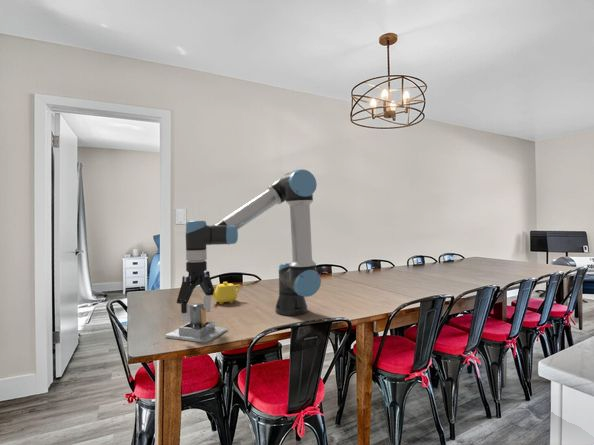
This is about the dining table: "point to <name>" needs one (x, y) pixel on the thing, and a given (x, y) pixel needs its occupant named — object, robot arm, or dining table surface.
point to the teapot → (226, 292)
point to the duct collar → (197, 333)
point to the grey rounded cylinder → (197, 315)
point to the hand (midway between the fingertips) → (197, 316)
